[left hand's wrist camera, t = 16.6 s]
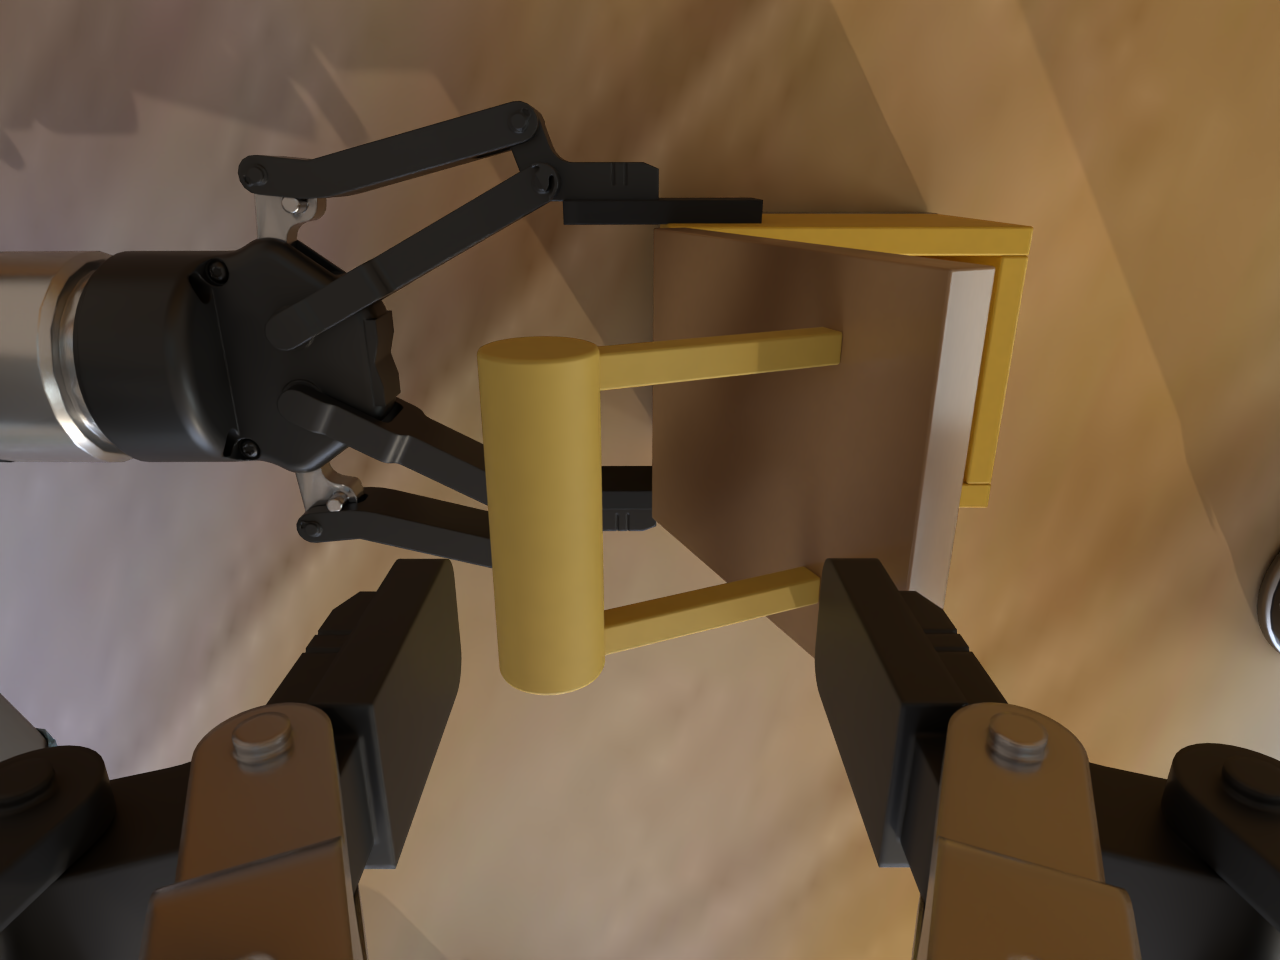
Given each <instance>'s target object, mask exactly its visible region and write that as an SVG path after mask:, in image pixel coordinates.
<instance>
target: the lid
mask: <svg viewBox="0 0 1280 960" xmlns="http://www.w3.org/2000/svg"><path fill="white" fill-rule="evenodd" d="M994 275H995V267H994V266H989V265H981V264H973V263H965V262H957V261H949V260H941V259H933V258H925V257H917V256H909V255H901V254H893V253H885V252H877V251H869V250H861V249H853V248H845V247H837V246H829V245H821V244H813V243H805V242H797V241H789V240H781V239H773V238H765V237H757V236H749V235H741V234H733V233H725V232H717V231H709V230H701V229H693V228H685V227H682V228H655V229H654V281H653V342H645V343H633V344H622V345H610V346H599V347H597V346H596V345H595V344H593V343H591V342H588V341H585V340H581V339H576V338H568V337H552V336H536V337H520V338H511V339H504V340H499V341H495V342H491V343H489V344H486V345H484V346H482V347H480V348H479V350H478V353H477V362H478V376H479V390H480V403H481V417H482V431H483V445H484V459H485V472H486V486H487V500H488V514H489V528H490V542H491V555H492V569H493V583H494V597H495V611H496V625H497V638H498V652H499V666H500V672H501V674H502V676H503V677H504V679H505V680H506V681H507V683H509V684H510V685H511V686H513V687H514V688H516V689H518V690H521V691H523V692H527V693H531V694H537V695H557V694H564V693H569V692H572V691H576V690H578V689H581V688H583V687H585V686H587V685H588V684H590V683H591V682H593V681H594V680H595V679H596V678H597V677H598V676H599V675H600V673H601V671H602V669H603V667H604V663H605V655H608V654H612V653H616V652H620V651H624V650H629V649H633V648H637V647H641V646H645V645H649V644H653V643H657V642H661V641H665V640H669V639H673V638H678V637H682V636H686V635H690V634H694V633H698V632H702V631H706V630H710V629H714V628H718V627H722V626H727V625H731V624H735V623H739V622H743V621H747V620H751V619H755V618H759V617H763V616H766V617H767V618H768V619H770V620H771V621H772V622H773V623H774V624H775V625H776V626H778V627H779V628H780V629H781V630H782V631H783V632H785V633H786V634H787V635H788V636H789V637H790V638H791V639H793V640H794V641H795V642H796V643H797V644H798V645H800V646H801V647H802V648H803V649H804V650H805V651H806V652H808V653H809V654H810V655H811V656H812V657H813V658H814V659H815V644H816V633H817V622H818V611H819V600H820V589H821V578H822V570H823V565H824V562H825V560H826V559H827V558H877V559H879V560H880V561H881V563H882V565H883V566H884V568H885V569H886V571H887V573H888V574H889V576H890V578H891V579H892V581H893V582H894V584H895V586H896V587H897V589H898V590H899V591H917V592H918V593H920V594H921V595H923V596H924V597H926V598H927V599H928V600H930V601H931V602H933V603H934V604H936V605H937V606H939V607H940V608H942V609H943V608H944V601H945V595H946V588H947V582H948V575H949V569H950V562H951V556H952V549H953V543H954V536H955V530H956V523H957V517H958V510H959V504H960V497H961V490H962V484H963V477H964V471H965V464H966V458H967V451H968V445H969V438H970V432H971V425H972V419H973V412H974V406H975V399H976V393H977V386H978V380H979V373H980V367H981V360H982V354H983V347H984V341H985V334H986V327H987V321H988V314H989V308H990V301H991V295H992V288H993V282H994ZM647 385H653V440H652V518H653V519H654V520H655V521H657V522H658V523H659V524H660V525H661V526H662V527H663V528H665V529H666V530H667V531H668V532H669V533H670V534H672V535H673V536H674V537H675V538H676V539H677V540H678V541H680V542H681V543H682V544H683V545H684V546H685V547H687V548H688V549H689V550H690V551H691V552H692V553H693V554H695V555H696V556H697V557H698V558H699V559H700V560H702V561H703V562H704V563H705V564H706V565H707V566H708V567H710V568H711V569H712V570H713V571H714V572H715V573H717V574H718V575H719V576H720V577H721V578H722V579H723V580H725V581H726V582H727V583H725V584H721V585H716V586H712V587H707V588H703V589H698V590H694V591H689V592H685V593H680V594H676V595H671V596H667V597H662V598H658V599H653V600H649V601H644V602H640V603H635V604H631V605H626V606H622V607H617V608H613V609H608V610H604V586H603V529H602V472H601V416H600V391H601V390H610V389H620V388H629V387H638V386H647Z"/></svg>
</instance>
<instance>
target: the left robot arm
mask: <svg viewBox="0 0 1280 960" xmlns="http://www.w3.org/2000/svg"><path fill="white" fill-rule="evenodd" d="M1257 614H1258V621H1259V625H1260V628H1261V630H1262V633H1263V635H1264V636H1265V638H1266V640H1267V641H1268V642H1269V644H1270V645H1271V646H1272V647H1273V648H1274V649H1275V650H1276V651H1277V652H1279V653H1280V552H1279V553H1278V555H1277V556H1276V557H1275V559H1274V560H1273V562H1272V563H1271V565H1270V567H1269V569H1268V570H1267V572H1266V574H1265V577H1264V579H1263V581H1262V584H1261V587H1260V591H1259V596H1258V603H1257ZM815 673H816V681H817V687H818V691H819V694H820V697H821V700H822V703H823V706H824V709H825V712H826V715H827V718H828V720H829V723H830V726H831V729H832V732H833V735H834V738H835V741H836V744H837V747H838V749H839V752H840V755H841V758H842V761H843V764H844V767H845V770H846V773H847V776H848V779H849V781H850V784H851V787H852V790H853V793H854V796H855V799H856V802H857V805H858V808H859V810H860V813H861V816H862V819H863V822H864V825H865V828H866V831H867V834H868V837H869V839H870V842H871V845H872V848H873V851H874V854H875V857H876V860H877V863H878V866H879V867H910V868H911V871H912V874H913V876H914V879H915V881H916V884H917V886H918V889H919V892H920V898H919V904H918V910H917V918H916V926H915V934H914V943H913V951H912V959H911V960H1280V761H1278V760H1276V759H1274V758H1272V757H1269V756H1266V755H1264V754H1261V753H1258V752H1255V751H1252V750H1249V749H1245V748H1241V747H1236V746H1232V745H1225V744H1216V743H1202V744H1194V745H1190V746H1187V747H1185V748H1183V749H1181V750H1180V751H1179V752H1177V753H1176V755H1175V757H1174V759H1173V762H1172V765H1171V769H1170V772H1169V775H1168V779H1163V778H1158V777H1153V776H1148V775H1144V774H1139V773H1134V772H1129V771H1125V770H1120V769H1115V768H1110V767H1105V766H1101V765H1097V764H1093V763H1090V762H1089V760H1088V756H1087V753H1086V750H1085V748H1084V747H1083V745H1082V743H1081V742H1080V741H1079V740H1078V739H1077V737H1076V736H1075V735H1074V734H1072V733H1071V732H1070V731H1069V730H1068V729H1067V728H1065V727H1064V726H1062V725H1061V724H1060V723H1058V722H1056V721H1055V720H1053V719H1051V718H1049V717H1047V716H1045V715H1043V714H1041V713H1038V712H1036V711H1033V710H1030V709H1027V708H1024V707H1020V706H1016V705H1011V704H1008V703H1007V701H1006V700H1005V698H1004V697H1003V696H1002V694H1001V693H1000V691H999V690H998V688H997V687H996V685H995V684H994V683H993V681H992V680H991V678H990V677H989V675H988V674H987V672H986V671H985V670H984V668H983V667H982V665H981V664H980V662H979V661H978V660H977V658H976V657H975V655H974V654H973V652H969V647H968V645H967V644H966V642H965V641H964V639H963V638H962V636H961V635H960V634H957V629H956V628H955V626H954V625H953V624H952V622H951V621H950V619H949V618H948V616H947V615H946V613H945V612H944V611H943V609H942V608H940V607H939V606H937V605H936V604H934V603H933V602H931V601H930V600H928V599H927V598H926V597H924V596H923V595H921V594H920V593H918V592H917V591H899V590H898V589H897V587H896V586H895V584H894V582H893V581H892V579H891V578H890V576H889V574H888V573H887V571H886V569H885V568H884V566H883V565H882V563H881V561H880V560H879V559H877V558H827V559H826V560H825V562H824V565H823V570H822V578H821V589H820V600H819V611H818V622H817V633H816V644H815ZM460 674H461V644H460V634H459V623H458V612H457V601H456V590H455V579H454V571H453V567H452V564H451V561H450V560H449V559H398V560H396V562H395V563H394V565H393V566H392V568H391V569H390V571H389V573H388V574H387V576H386V577H385V579H384V580H383V582H382V584H381V585H380V587H379V588H378V590H377V592H359V593H357V594H356V595H354V596H353V597H351V598H350V599H348V600H347V601H345V602H344V603H342V604H341V605H339V606H338V607H336V608H335V609H333V610H332V612H331V613H330V615H329V616H328V617H327V619H326V620H325V622H324V623H323V625H322V626H321V627H320V629H319V630H318V635H315V636H314V637H313V639H312V640H311V642H310V643H309V644H308V646H307V647H306V653H302V654H301V656H300V657H299V659H298V660H297V662H296V663H295V664H294V666H293V667H292V669H291V670H290V671H289V673H288V674H287V676H286V677H285V679H284V680H283V681H282V683H281V684H280V686H279V687H278V688H277V690H276V691H275V693H274V694H273V696H272V697H271V698H270V700H269V701H268V703H267V704H266V705H264V706H260V707H256V708H253V709H250V710H247V711H244V712H242V713H239V714H237V715H235V716H233V717H231V718H229V719H227V720H225V721H224V722H222V723H220V724H219V725H218V726H216V727H215V728H213V729H212V730H211V731H210V732H209V733H208V734H206V735H205V736H204V737H203V739H202V740H201V741H200V742H199V743H198V745H197V747H196V748H195V750H194V753H193V756H192V760H191V762H188V763H185V764H182V765H178V766H174V767H170V768H166V769H161V770H156V771H152V772H147V773H142V774H137V775H132V776H128V777H123V778H118V779H113V780H109V778H108V774H107V771H106V767H105V764H104V761H103V759H102V757H101V756H100V755H99V754H98V753H97V752H96V751H94V750H91V749H89V748H86V747H81V746H70V745H68V746H54V747H47V748H42V749H38V750H33V751H29V752H26V753H23V754H20V755H17V756H14V757H11V758H9V759H6V760H4V761H1V762H0V960H369V959H368V951H367V943H366V934H365V926H364V918H363V910H362V904H361V898H360V892H359V886H358V883H359V880H360V878H361V875H362V873H363V870H364V869H396V866H397V863H398V860H399V857H400V854H401V852H402V849H403V846H404V843H405V840H406V837H407V834H408V832H409V829H410V826H411V823H412V820H413V817H414V815H415V812H416V809H417V806H418V803H419V800H420V798H421V795H422V792H423V789H424V786H425V783H426V780H427V778H428V775H429V772H430V769H431V766H432V763H433V761H434V758H435V755H436V752H437V749H438V746H439V744H440V741H441V738H442V735H443V732H444V729H445V726H446V724H447V721H448V718H449V715H450V712H451V709H452V707H453V704H454V701H455V698H456V695H457V692H458V688H459V682H460Z"/></svg>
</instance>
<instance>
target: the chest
mask: <svg viewBox="0 0 1280 960" xmlns="http://www.w3.org/2000/svg"><path fill="white" fill-rule="evenodd" d="M682 227H685V228H693V229H701V230H709V231H717V232H725V233H733V234H741V235H749V236H757V237H765V238H773V239H781V240H789V241H797V242H805V243H813V244H821V245H829V246H837V247H845V248H853V249H861V250H869V251H877V252H885V253H893V254H901V255H909V256H917V257H925V258H933V259H941V260H949V261H957V262H965V263H973V264H981V265H989V266H994V267H995V275H994V282H993V288H992V295H991V301H990V308H989V314H988V321H987V327H986V334H985V341H984V347H983V354H982V360H981V367H980V373H979V380H978V386H977V393H976V399H975V406H974V412H973V419H972V425H971V432H970V438H969V445H968V451H967V458H966V464H965V471H964V477H963V484H962V490H961V497H960V504H959V507H987V506H988V500H989V494H990V488H991V484H989V483H990V482H991V478H992V472H993V466H994V460H995V454H996V448H997V442H998V436H999V430H1000V424H1001V418H1002V412H1003V406H1004V400H1005V394H1006V388H1007V382H1008V376H1009V370H1010V364H1011V358H1012V352H1013V346H1014V340H1015V334H1016V328H1017V322H1018V316H1019V310H1020V304H1021V298H1022V292H1023V286H1024V280H1025V274H1026V268H1027V262H1028V257H1027V256H1026V255H1028V254H1029V251H1030V245H1031V239H1032V233H1033V227H1031V226H1024V225H1016V224H1009V223H1001V222H994V221H986V220H979V219H971V218H963V217H956V216H948V215H941V214H937V213H762V223H735V224H734V223H733V224H659V228H682Z"/></svg>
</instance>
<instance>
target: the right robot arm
mask: <svg viewBox="0 0 1280 960" xmlns="http://www.w3.org/2000/svg"><path fill="white" fill-rule="evenodd" d="M511 150H512V152H513V155H514V158H515V160H516V163H517V165H518V168H519V170H520V172H519V173H517V174H515V175H514V176H512V177H510V178H509V179H507V180H505V181H504V182H502V183H500V184H499V185H497V186H495V187H493V188H492V189H490V190H488V191H487V192H485V193H483V194H482V195H480V196H478V197H477V198H475V199H473V200H472V201H470V202H468V203H466V204H465V205H463V206H461V207H460V208H458V209H456V210H455V211H453V212H451V213H450V214H448V215H446V216H445V217H443V218H441V219H439V220H438V221H436V222H434V223H433V224H431V225H429V226H428V227H426V228H424V229H423V230H421V231H419V232H417V233H416V234H414V235H412V236H411V237H409V238H407V239H406V240H404V241H402V242H401V243H399V244H397V245H396V246H394V247H392V248H390V249H389V250H387V251H385V252H384V253H382V254H380V255H379V256H377V257H375V258H373V259H371V260H369V261H367V262H365V263H364V264H362V265H360V266H358V267H356V268H355V269H353V270H351V271H350V272H348V273H346V272H345V271H343V270H342V269H340V268H339V267H337V266H336V265H334V264H333V263H331V262H330V261H328V260H327V259H326V258H324V257H323V256H321V255H320V254H318V253H317V252H315V251H314V250H312V249H311V248H309V247H308V246H306V245H305V244H303V243H302V242H300V241H299V240H297V232H298V230H299V228H300V227H301V225H302V224H304V223H306V222H308V221H314V220H317V219H319V218H321V217H322V216H323V215H324V213H325V210H326V198H330V197H341V196H349V195H354V194H359V193H363V192H366V191H370V190H373V189H377V188H380V187H384V186H387V185H391V184H394V183H398V182H402V181H405V180H409V179H412V178H416V177H419V176H423V175H426V174H430V173H433V172H437V171H440V170H444V169H447V168H451V167H454V166H458V165H462V164H465V163H469V162H472V161H476V160H479V159H483V158H486V157H490V156H493V155H497V154H500V153H504V152H507V151H511ZM238 175H239V179H240V182H241V183H242V185H243V186H244V188H246V189H247V190H248V191H250V192H251V193H254V196H255V210H256V224H257V238H258V239H256V240H254V241H252V242H250V243H249V244H247V245H246V246H244V247H242V248H241V249H238V250H235V251H125V252H121V253H117V254H115V255H113V256H112V255H109V254H107V253H104V252H101V251H6V252H0V462H125V461H128V460H130V459H133V458H134V459H137V460H140V461H146V462H236V461H253V460H259V461H266V462H270V463H273V464H276V465H278V466H280V467H282V468H284V469H286V470H288V471H291V472H295V473H296V477H297V481H298V484H299V488H300V492H301V496H302V500H303V503H304V507H305V513H304V514H303V515H302V516H301V517H300V518H299V520H298V522H297V531H298V533H299V535H300V536H301V537H302V538H303V539H304V540H306V541H309V542H314V543H319V542H329V541H340V540H351V539H363V540H368V541H372V542H377V543H381V544H386V545H390V546H395V547H399V548H404V549H408V550H413V551H417V552H422V553H426V554H431V555H435V556H440V557H444V558H449V559H453V560H458V561H462V562H467V563H471V564H476V565H480V566H485V567H489V568H492V555H491V542H490V528H489V514H488V511H485V510H480V509H476V508H472V507H467V506H463V505H459V504H454V503H450V502H446V501H441V500H437V499H433V498H428V497H424V496H419V495H415V494H411V493H406V492H402V491H398V490H393V489H387V488H379V487H363V486H362V483H361V481H360V479H358V478H357V477H351V476H345V475H341V474H339V473H337V472H336V471H334V470H333V468H332V467H331V465H330V463H329V461H331V460H332V459H333V458H335V457H336V456H337V455H338V454H340V453H341V452H342V451H344V450H345V449H346V448H348V447H351V448H353V449H355V450H358V451H360V452H362V453H364V454H366V455H368V456H370V457H372V458H375V459H377V460H379V461H382V462H385V463H398V464H401V465H403V466H405V467H407V468H409V469H411V470H414V471H416V472H418V473H420V474H422V475H424V476H426V477H428V478H431V479H433V480H435V481H437V482H439V483H441V484H443V485H445V486H447V487H450V488H452V489H454V490H456V491H458V492H460V493H462V494H464V495H466V496H469V497H471V498H473V499H475V500H477V501H479V502H481V503H483V504H485V505H488V500H487V486H486V472H485V459H484V445H483V444H481V443H479V442H477V441H475V440H473V439H471V438H469V437H467V436H465V435H463V434H461V433H459V432H457V431H455V430H453V429H451V428H449V427H447V426H444V425H442V424H440V423H438V422H436V421H434V420H432V419H430V418H428V417H427V416H426V415H425V414H424V413H423V411H422V410H420V409H419V408H418V407H416V406H414V405H412V404H410V403H408V402H406V401H404V400H402V399H400V398H397V397H396V396H397V395H398V394H399V393H400V383H399V373H398V370H397V368H396V365H395V363H394V360H393V357H392V355H391V346H392V340H393V333H394V328H393V319H392V311H387V310H386V308H385V306H384V304H383V302H382V301H381V300H382V299H384V298H386V297H387V296H389V295H391V294H393V293H394V292H396V291H398V290H399V289H401V288H403V287H405V286H406V285H408V284H410V283H411V282H413V281H414V280H416V279H418V278H420V277H421V276H423V275H425V274H427V273H428V272H430V271H432V270H433V269H435V268H437V267H439V266H440V265H442V264H444V263H445V262H447V261H449V260H451V259H452V258H454V257H456V256H457V255H459V254H461V253H463V252H464V251H466V250H468V249H470V248H471V247H473V246H475V245H476V244H478V243H480V242H482V241H483V240H485V239H487V238H488V237H490V236H492V235H494V234H495V233H497V232H499V231H501V230H502V229H504V228H506V227H507V226H509V225H511V224H513V223H514V222H516V221H518V220H519V219H521V218H523V217H525V216H526V215H528V214H530V213H532V212H533V211H535V210H537V209H538V208H540V207H542V206H544V205H545V204H547V203H549V202H550V201H563V219H564V225H626V224H733V223H734V224H735V223H762V207H763V200H760V199H755V198H659V169H658V168H656V167H653V166H651V165H649V164H646V163H644V162H568V161H566V160H564V159H562V158H561V157H560V156H559V155H558V154H557V153H556V151H555V149H554V147H553V145H552V143H551V140H550V137H549V135H548V132H547V129H546V127H545V121H544V119H543V117H542V115H541V114H540V113H539V112H538V111H537V110H536V109H535V108H533V107H532V106H530V105H529V104H527V103H524V102H522V101H513V102H509V103H506V104H502V105H499V106H495V107H492V108H488V109H485V110H482V111H478V112H475V113H471V114H468V115H464V116H461V117H457V118H454V119H450V120H447V121H443V122H440V123H436V124H433V125H430V126H426V127H423V128H419V129H416V130H412V131H409V132H405V133H402V134H398V135H395V136H391V137H388V138H384V139H381V140H378V141H374V142H371V143H367V144H364V145H360V146H357V147H353V148H350V149H346V150H343V151H339V152H336V153H332V154H329V155H326V156H322V157H319V158H315V159H305V158H295V157H285V156H265V155H251V156H247V157H246V158H244V159H243V160H242V161H241V163H240V165H239V168H238ZM601 472H602V529H603V531H617V530H618V531H627V530H629V531H644V530H647V529H649V528H652V527H655V526H656V521H655V520H654V519H653V518H652V466H601ZM54 746H57V744H56V740H55V739H53V738H52V736H51V735H50V734H49V733H48V732H47V731H46V730H45V729H39V728H35V727H34V726H33V725H32V724H31V723H30V722H29V721H28V720H27V719H26V718H25V717H24V716H23V715H22V714H21V713H19V712H18V711H17V710H16V709H15V708H14V707H13V706H12V705H11V704H10V703H9V702H8V701H7V700H6V699H5V698H4V697H3V696H2V695H1V694H0V762H1V761H4V760H6V759H9V758H11V757H14V756H17V755H20V754H23V753H26V752H29V751H33V750H38V749H42V748H47V747H54Z"/></svg>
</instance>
